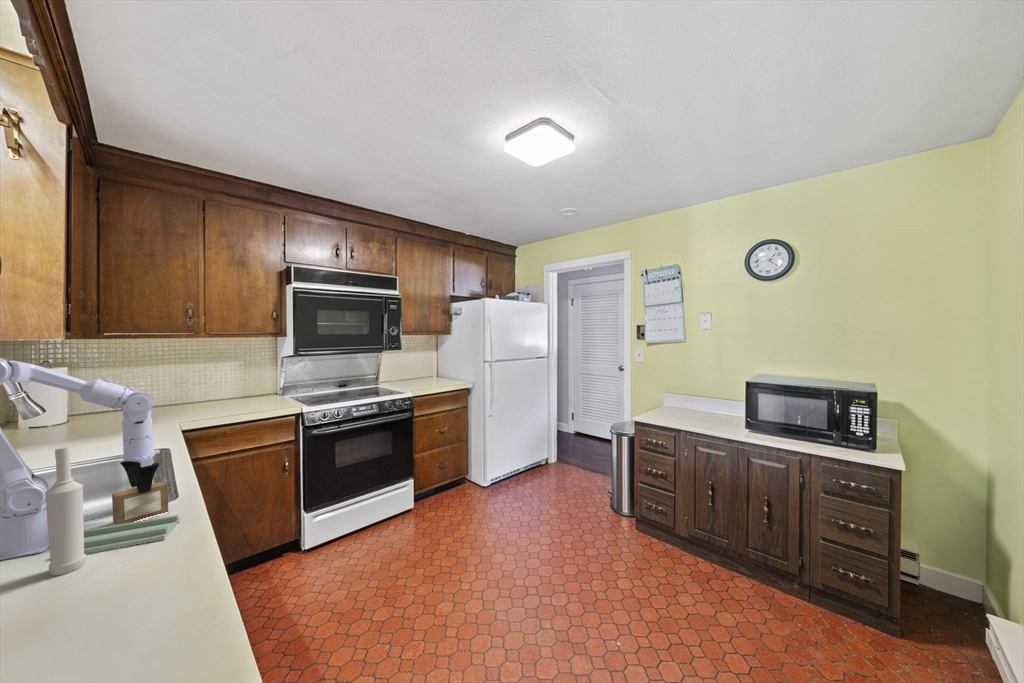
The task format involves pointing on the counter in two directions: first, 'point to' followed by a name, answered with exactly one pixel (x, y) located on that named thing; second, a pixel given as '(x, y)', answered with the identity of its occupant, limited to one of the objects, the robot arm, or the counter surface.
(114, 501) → the picture frame
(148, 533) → the picture ledge
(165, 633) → the counter surface
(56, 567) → the bottle
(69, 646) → the counter surface
